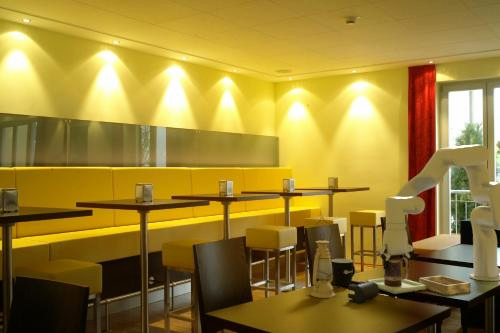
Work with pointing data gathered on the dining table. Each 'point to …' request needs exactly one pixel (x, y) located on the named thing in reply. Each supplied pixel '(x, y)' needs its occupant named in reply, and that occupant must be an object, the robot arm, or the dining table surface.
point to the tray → (405, 287)
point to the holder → (445, 285)
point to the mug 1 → (342, 271)
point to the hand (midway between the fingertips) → (396, 268)
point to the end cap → (363, 292)
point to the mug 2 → (395, 272)
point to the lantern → (322, 270)
